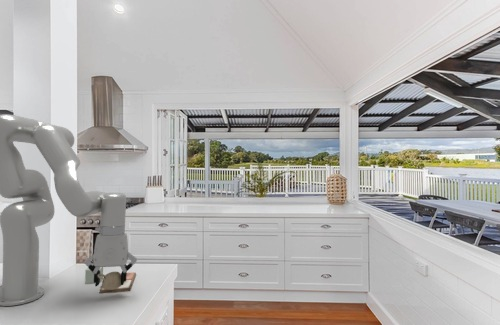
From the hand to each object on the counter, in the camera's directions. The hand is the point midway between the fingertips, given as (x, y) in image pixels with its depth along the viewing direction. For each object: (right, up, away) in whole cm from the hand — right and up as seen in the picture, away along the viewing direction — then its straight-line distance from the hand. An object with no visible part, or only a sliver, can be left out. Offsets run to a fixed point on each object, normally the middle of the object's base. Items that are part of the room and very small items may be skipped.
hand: (110, 283), depth 102 cm
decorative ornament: (0, -2, 0) cm, 2 cm away
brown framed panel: (-2, -5, +13) cm, 14 cm away
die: (-13, -5, +15) cm, 20 cm away
